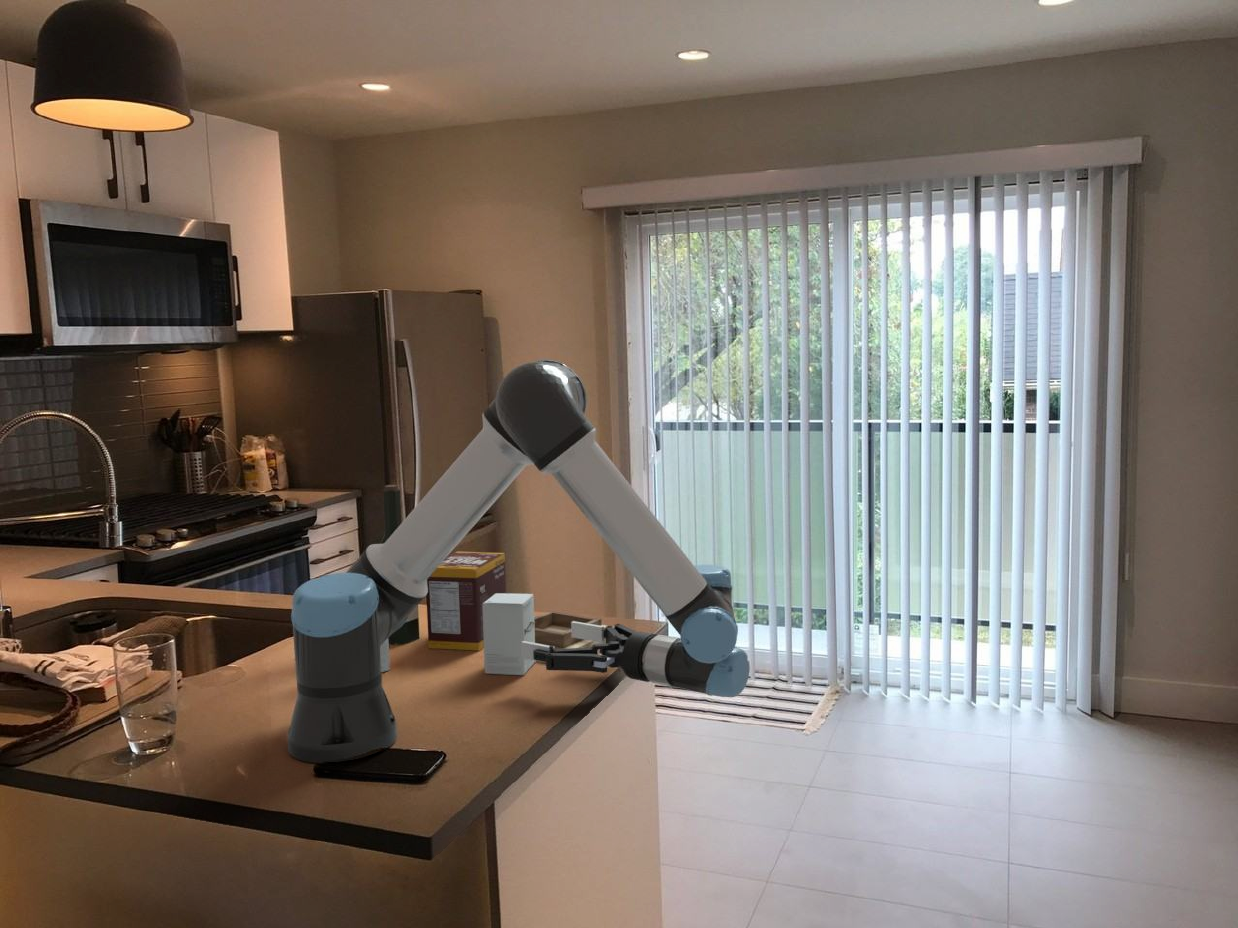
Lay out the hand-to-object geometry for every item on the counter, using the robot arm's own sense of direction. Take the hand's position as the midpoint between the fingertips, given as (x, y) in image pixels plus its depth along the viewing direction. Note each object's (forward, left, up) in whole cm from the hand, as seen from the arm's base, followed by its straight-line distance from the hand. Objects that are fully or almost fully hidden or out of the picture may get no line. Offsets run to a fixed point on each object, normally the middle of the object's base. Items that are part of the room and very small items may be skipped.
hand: (548, 638), depth 170 cm
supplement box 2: (0, +8, -7) cm, 11 cm away
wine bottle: (+3, +39, -7) cm, 40 cm away
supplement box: (+10, +27, -7) cm, 30 cm away
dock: (+16, +10, -6) cm, 20 cm away
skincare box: (-13, +29, -7) cm, 33 cm away
